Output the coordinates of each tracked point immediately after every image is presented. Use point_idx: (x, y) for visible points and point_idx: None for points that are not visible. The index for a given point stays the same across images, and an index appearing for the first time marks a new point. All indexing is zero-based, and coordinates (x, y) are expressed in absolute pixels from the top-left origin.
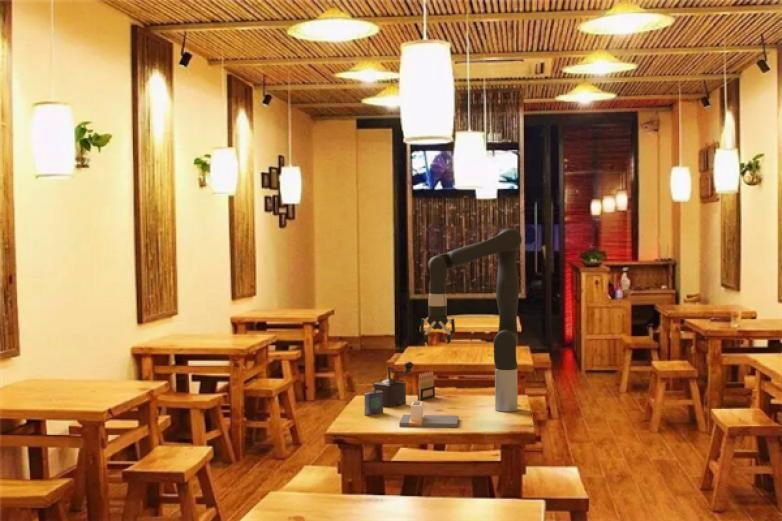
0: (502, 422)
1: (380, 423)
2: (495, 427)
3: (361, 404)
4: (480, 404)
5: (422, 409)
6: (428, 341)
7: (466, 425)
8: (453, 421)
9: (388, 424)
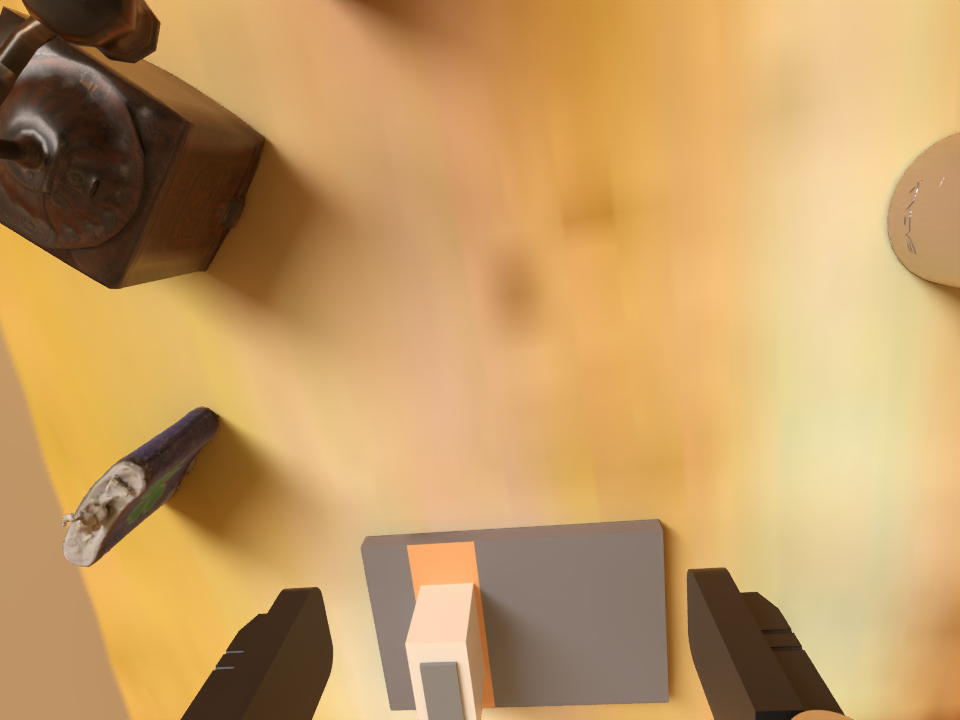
0: (904, 559)
1: None
2: (858, 664)
3: None
4: (783, 40)
5: (471, 626)
6: (308, 619)
7: None
8: (647, 662)
9: None
